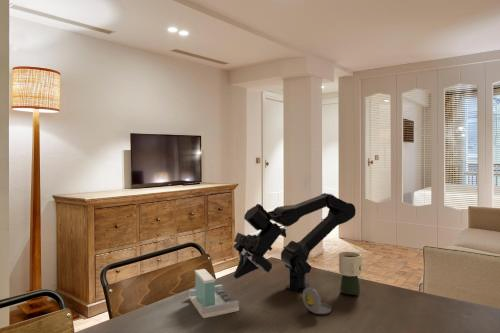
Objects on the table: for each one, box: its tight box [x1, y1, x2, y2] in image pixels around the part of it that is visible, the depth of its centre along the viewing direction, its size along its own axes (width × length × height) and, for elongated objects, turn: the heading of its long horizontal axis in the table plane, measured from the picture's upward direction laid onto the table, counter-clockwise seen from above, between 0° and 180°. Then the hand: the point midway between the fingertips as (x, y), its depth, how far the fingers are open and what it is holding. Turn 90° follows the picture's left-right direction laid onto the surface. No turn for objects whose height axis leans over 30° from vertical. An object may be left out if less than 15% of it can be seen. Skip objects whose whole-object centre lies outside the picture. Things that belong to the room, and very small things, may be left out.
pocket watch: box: [302, 279, 332, 315], centre depth 106 cm, size 8×8×10 cm
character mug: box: [338, 250, 362, 296], centre depth 119 cm, size 11×7×13 cm, turn 179°
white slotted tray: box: [188, 284, 240, 319], centre depth 112 cm, size 11×15×3 cm
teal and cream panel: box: [194, 268, 216, 307], centre depth 111 cm, size 3×10×8 cm, turn 24°
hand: (234, 277), depth 115 cm, fingers closed
